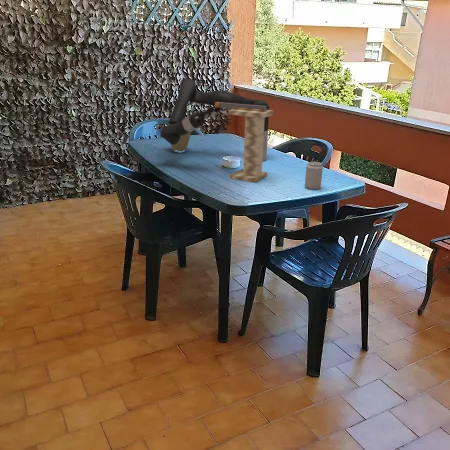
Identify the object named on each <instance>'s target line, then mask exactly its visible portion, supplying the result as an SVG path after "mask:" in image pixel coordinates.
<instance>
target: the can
mask: <svg viewBox="0 0 450 450" xmlns="http://www.w3.org/2000/svg"><path fill="white" fill-rule="evenodd" d="M323 167H324V166H323V165H322V162H318V161H310V162H309V161H308V164H306V167H305V168H306V169H305V179H304V187H305V188H306V189H308V190H313V191H315V190H316V191H317V190H319V189H321V187H322V181H323V180H322V179H323V170H324V169H323Z"/></svg>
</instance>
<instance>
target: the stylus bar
mask: <svg viewBox="0 0 450 450" xmlns="http://www.w3.org/2000/svg"><path fill="white" fill-rule="evenodd" d="M232 107H238V108H250V109H261V110H264V112H265V111H266V106H260V105H248V104H236V103H224V102H215V106H214V108H223V109H224V108H226V109H225V110H229V109H232Z"/></svg>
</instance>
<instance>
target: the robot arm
mask: <svg viewBox="0 0 450 450" xmlns="http://www.w3.org/2000/svg"><path fill="white" fill-rule="evenodd" d="M189 102H190V103H195V104H198V103H199V104H205V105H209V106H211V107H209V108H207V109H205V110H201V112H200V111H194V112H193V113H191V114H190V115H187V116H186V112H187V108H188V105H189V104H188V103H189ZM215 102H224V103H236V104H248V105H260V106H266V109H267V110H270V105H269V103H268V102H267V101H265V100H264V99H256V98H255V99H254V98H248V97H246V96H243V95H239V94H236V93H233V92H229V91H226V90H225V91H224V90H219V89H218V90H214V91H213V90H212V91H209V92H208V91H207V92H205V91H200V90H197V84H196V82H195V80H193V79H191V78H185V79H183V80H182V81H181V82H180V84H179V90H178V95H177V99H176V101H175V104H174V108H173V109H172V112H171V114H170V117H169V119H168V124H167V125H165V126H163V127H162V129H161V130H160V136H161V138H163V139H164V140H165V141H166V142H168V143H169V144H170V145H171V144H172V145H175V144H176V143H178V141H179V140H180V136H181V135H182V136H183V135H185V134H187V133H189V132H193V131H195V130H197V129H199V128H201V127H203V126H204V125H205V120H208V119H209V118H211V117H213V116H215V115H216V114H218V113H219V112H221V110H224V109H225V110H227V109H226V108H215ZM229 110H232V109H228V111H229ZM185 116H186V117H185ZM269 118H270V116H268V117H265V120H264V140H263V159H262V162H265V161H267V157H268V155H267V154H268V137H269V122H270V121H269V120H270V119H269Z"/></svg>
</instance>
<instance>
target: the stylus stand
mask: <svg viewBox="0 0 450 450" xmlns="http://www.w3.org/2000/svg"><path fill="white" fill-rule="evenodd" d="M274 111H275V110H272V109H269V110H267V109H266V111H265V112H264V110H261V109H250V108H238V107H232V110H229V109H228V116H229V115H230V116H231V115H232V116H242V117H245V119H244V139H243V140H244V141H243V142H244V143H243V144H244V145H243V168H241V169H239V170H237V171H235V172H233V173H230V175H229V179H230V180H234V179H235V180H236V181H242V182H249V183H255V184H257V183H258V182H260V181H262V180H263V179H265V178H267V177H268V171H263V161H262V159H263V140H264V120H265V117H268V116H269V117H271V116H274Z"/></svg>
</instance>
